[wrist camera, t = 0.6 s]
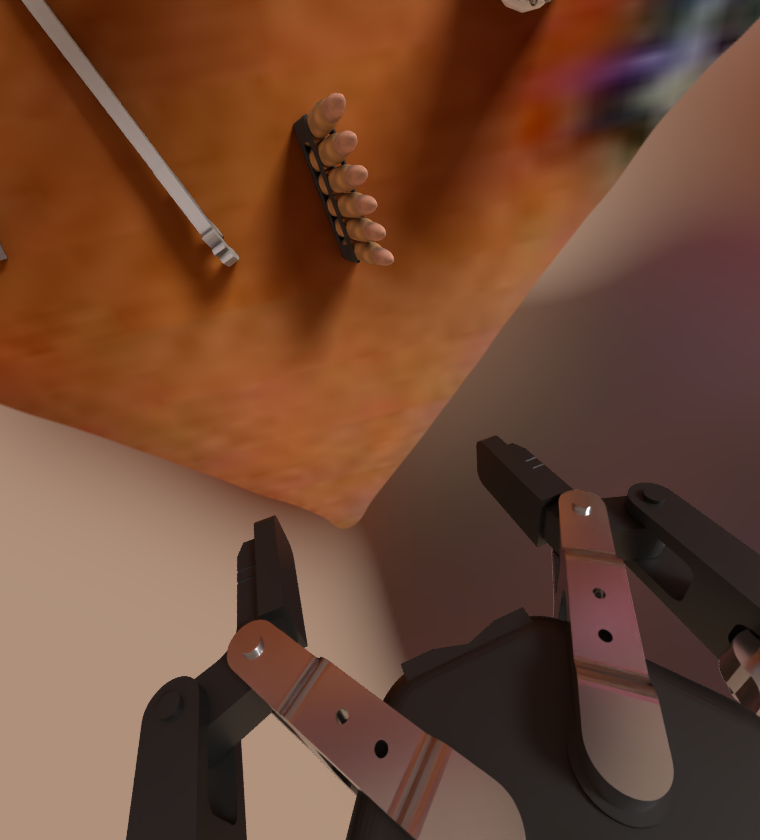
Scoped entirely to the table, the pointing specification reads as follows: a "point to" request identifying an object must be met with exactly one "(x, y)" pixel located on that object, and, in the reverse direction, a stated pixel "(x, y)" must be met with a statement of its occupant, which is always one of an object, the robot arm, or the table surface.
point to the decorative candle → (524, 4)
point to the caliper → (130, 129)
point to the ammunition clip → (341, 182)
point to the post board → (2, 254)
